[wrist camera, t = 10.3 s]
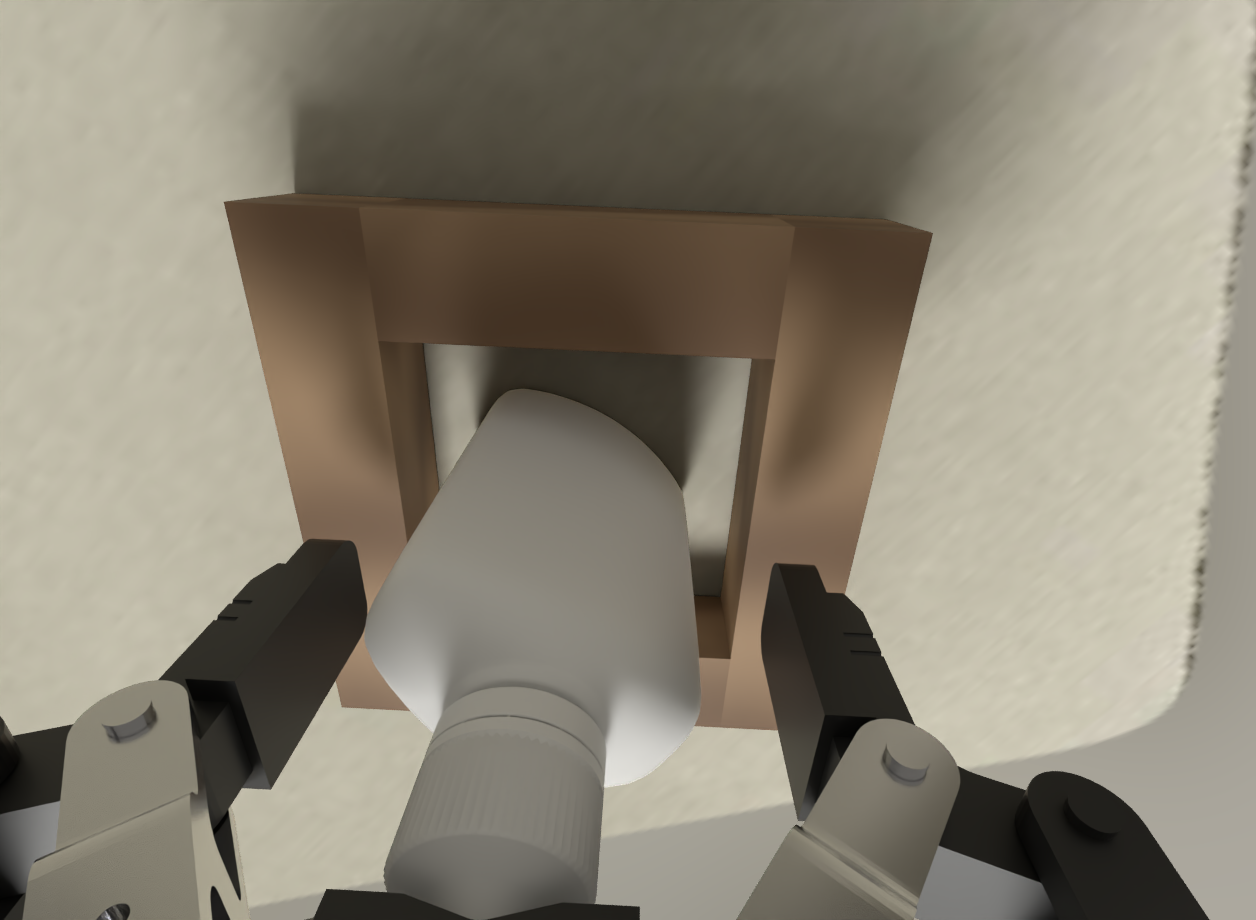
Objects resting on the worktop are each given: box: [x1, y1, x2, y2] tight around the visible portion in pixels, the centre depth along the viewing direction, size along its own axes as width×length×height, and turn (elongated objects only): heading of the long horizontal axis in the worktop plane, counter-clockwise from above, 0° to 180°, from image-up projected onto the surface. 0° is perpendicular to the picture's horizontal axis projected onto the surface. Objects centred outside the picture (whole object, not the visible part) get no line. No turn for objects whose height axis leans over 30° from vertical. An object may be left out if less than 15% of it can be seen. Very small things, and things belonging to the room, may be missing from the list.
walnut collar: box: [224, 193, 933, 730], centre depth 15 cm, size 13×13×2 cm
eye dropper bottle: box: [364, 389, 701, 920], centre depth 11 cm, size 4×6×12 cm
